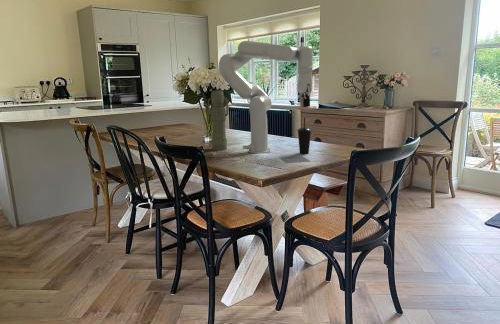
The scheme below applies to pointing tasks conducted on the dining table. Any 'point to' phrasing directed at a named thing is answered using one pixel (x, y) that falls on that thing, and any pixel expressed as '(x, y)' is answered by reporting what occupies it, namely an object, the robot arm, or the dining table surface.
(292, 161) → the mat
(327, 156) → the dining table surface
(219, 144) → the thermos
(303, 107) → the lid
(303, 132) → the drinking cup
